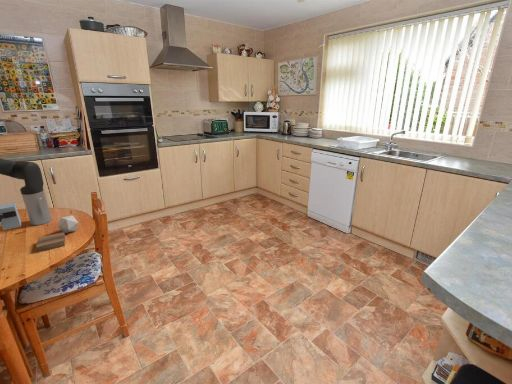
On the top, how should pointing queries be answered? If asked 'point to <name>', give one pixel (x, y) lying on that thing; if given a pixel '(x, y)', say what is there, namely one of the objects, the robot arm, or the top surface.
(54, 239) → the walnut base
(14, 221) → the gray block
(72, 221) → the die
